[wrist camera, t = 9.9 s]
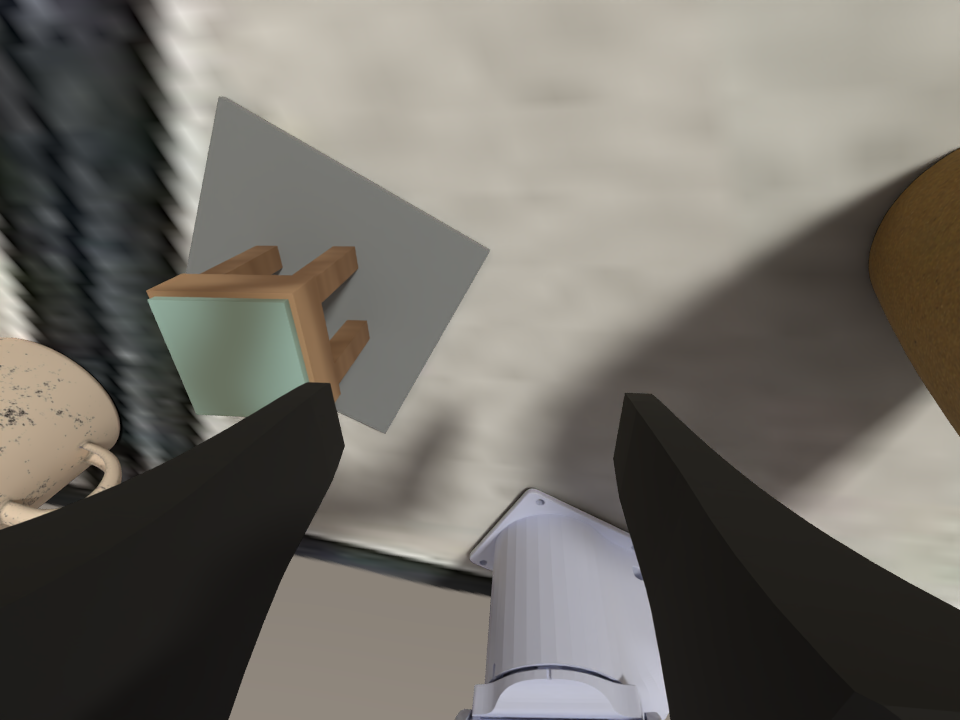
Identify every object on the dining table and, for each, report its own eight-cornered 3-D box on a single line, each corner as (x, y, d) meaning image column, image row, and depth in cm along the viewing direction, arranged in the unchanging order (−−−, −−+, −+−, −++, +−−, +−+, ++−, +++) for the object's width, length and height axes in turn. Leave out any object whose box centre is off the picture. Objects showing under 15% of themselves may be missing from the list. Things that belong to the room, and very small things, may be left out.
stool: (358, 241, 19) (288, 297, 13) (374, 342, 21) (320, 424, 16) (250, 241, 19) (139, 293, 14) (278, 339, 22) (193, 418, 16)
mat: (489, 249, 19) (489, 252, 19) (387, 429, 25) (385, 433, 24) (224, 96, 17) (218, 96, 17) (179, 331, 23) (174, 334, 22)
